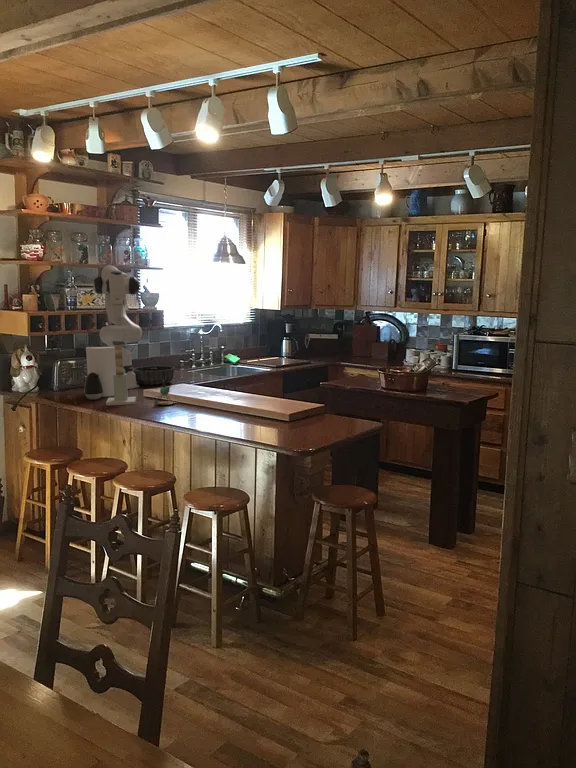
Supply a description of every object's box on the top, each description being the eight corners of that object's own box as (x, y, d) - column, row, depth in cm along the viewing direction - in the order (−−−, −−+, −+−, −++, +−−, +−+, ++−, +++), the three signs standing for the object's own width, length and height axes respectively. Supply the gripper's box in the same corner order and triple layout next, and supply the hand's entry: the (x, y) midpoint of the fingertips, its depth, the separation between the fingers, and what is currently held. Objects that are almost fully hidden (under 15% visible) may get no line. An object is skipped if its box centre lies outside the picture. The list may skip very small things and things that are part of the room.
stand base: (108, 400, 382) (107, 372, 379) (136, 399, 384) (134, 372, 382) (106, 405, 367) (104, 376, 365) (134, 404, 370) (133, 375, 367)
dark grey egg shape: (92, 401, 380) (90, 374, 377) (81, 399, 386) (79, 372, 384) (107, 398, 388) (105, 372, 385) (95, 396, 394) (94, 370, 392)
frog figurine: (144, 406, 363) (145, 379, 362) (171, 405, 376) (172, 378, 375) (155, 408, 357) (156, 380, 356) (182, 407, 370) (183, 380, 369)
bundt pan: (124, 385, 432) (124, 369, 430) (148, 379, 456) (148, 364, 454) (160, 387, 422) (159, 371, 420) (182, 381, 446) (182, 366, 444)
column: (115, 387, 377) (113, 340, 373) (126, 386, 378) (124, 340, 374) (114, 389, 371) (112, 341, 367) (125, 388, 372) (123, 341, 368)
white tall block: (114, 396, 393) (112, 348, 389) (84, 396, 394) (81, 348, 389) (122, 391, 410) (120, 345, 406) (93, 391, 411) (91, 345, 406)
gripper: (113, 300, 390) (115, 324, 392) (110, 301, 370) (112, 327, 373) (125, 300, 391) (126, 324, 393) (122, 301, 371) (124, 326, 374)
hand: (119, 325), depth 383 cm, fingers open, 8 cm apart
